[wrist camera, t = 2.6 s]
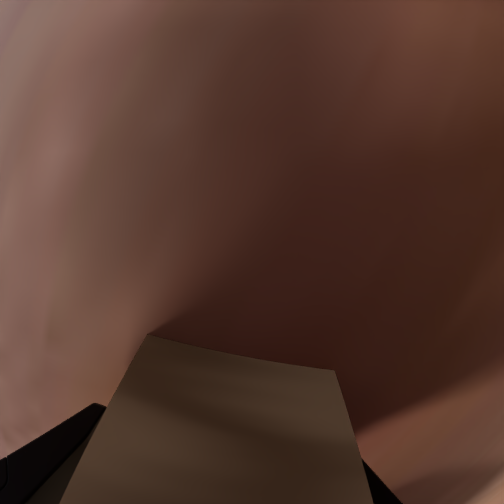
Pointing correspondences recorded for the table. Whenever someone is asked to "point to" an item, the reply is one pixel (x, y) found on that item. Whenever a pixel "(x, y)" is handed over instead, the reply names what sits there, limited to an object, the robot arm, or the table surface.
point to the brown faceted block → (220, 434)
